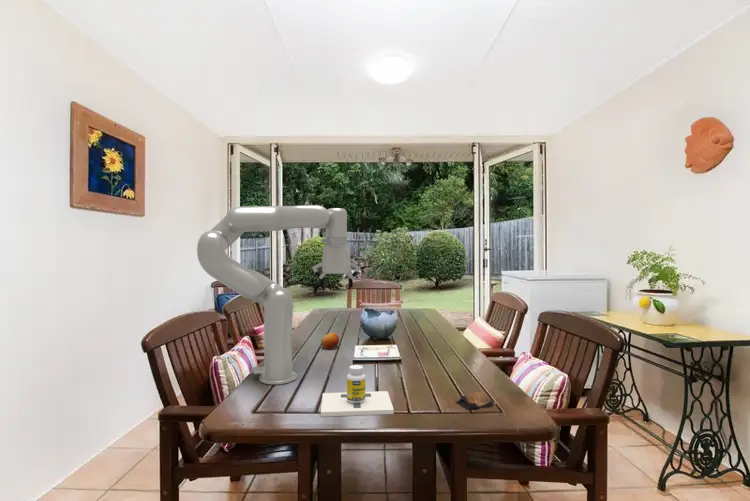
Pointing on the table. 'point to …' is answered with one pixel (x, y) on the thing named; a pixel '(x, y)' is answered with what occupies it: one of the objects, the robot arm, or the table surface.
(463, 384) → the table surface
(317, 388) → the table surface
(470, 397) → the cookie on black wrapper
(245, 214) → the robot arm
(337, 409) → the board
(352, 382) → the supplement bottle
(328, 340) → the fruit
